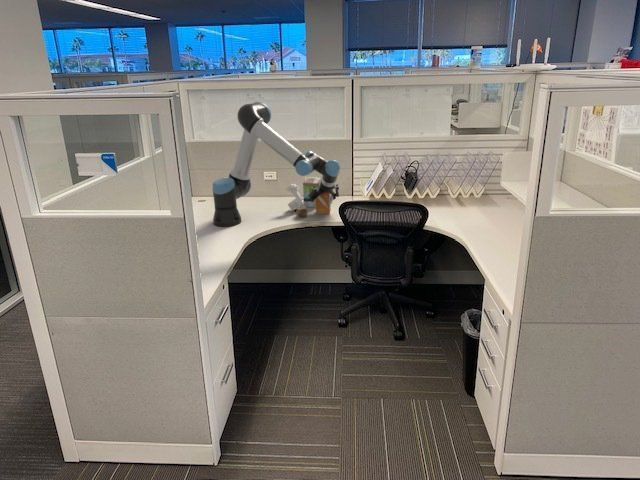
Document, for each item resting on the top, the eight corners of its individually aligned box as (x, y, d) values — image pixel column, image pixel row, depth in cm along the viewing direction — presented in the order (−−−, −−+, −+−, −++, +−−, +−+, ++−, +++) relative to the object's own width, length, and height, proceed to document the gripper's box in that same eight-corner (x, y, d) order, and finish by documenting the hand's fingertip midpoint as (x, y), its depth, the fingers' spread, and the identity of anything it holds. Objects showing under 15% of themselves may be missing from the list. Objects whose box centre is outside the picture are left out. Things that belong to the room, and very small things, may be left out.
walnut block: (298, 218, 260) (298, 209, 258) (296, 215, 264) (296, 207, 263) (307, 217, 261) (307, 208, 259) (305, 214, 266) (305, 206, 264)
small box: (315, 214, 266) (314, 191, 261) (316, 211, 272) (316, 189, 267) (330, 214, 265) (329, 191, 260) (330, 210, 271) (330, 188, 266)
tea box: (319, 207, 279) (319, 182, 273) (303, 207, 280) (302, 182, 275) (323, 200, 292) (323, 177, 287) (307, 200, 294) (306, 177, 289)
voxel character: (309, 204, 267) (293, 182, 265) (294, 215, 272) (278, 194, 270) (312, 200, 273) (297, 179, 271) (298, 211, 278) (282, 191, 276)
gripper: (309, 189, 246) (304, 210, 266) (349, 186, 250) (341, 206, 270) (306, 177, 249) (301, 199, 269) (346, 174, 253) (339, 195, 273)
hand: (321, 202), depth 269 cm, fingers closed on small box, 9 cm apart
